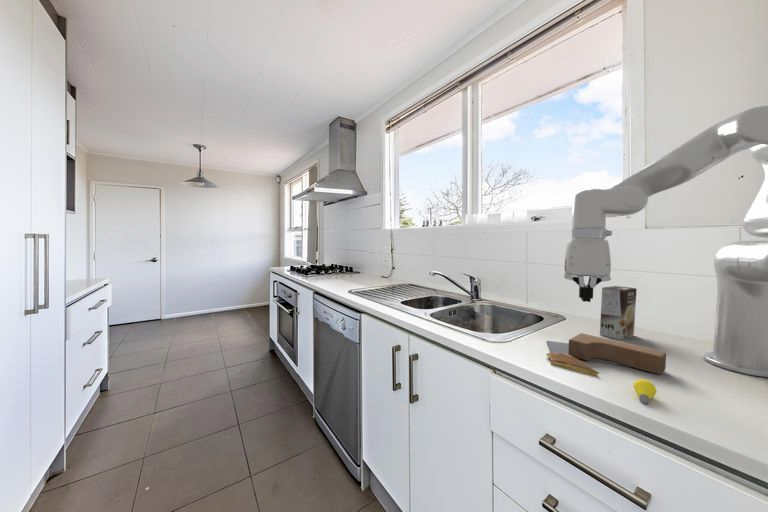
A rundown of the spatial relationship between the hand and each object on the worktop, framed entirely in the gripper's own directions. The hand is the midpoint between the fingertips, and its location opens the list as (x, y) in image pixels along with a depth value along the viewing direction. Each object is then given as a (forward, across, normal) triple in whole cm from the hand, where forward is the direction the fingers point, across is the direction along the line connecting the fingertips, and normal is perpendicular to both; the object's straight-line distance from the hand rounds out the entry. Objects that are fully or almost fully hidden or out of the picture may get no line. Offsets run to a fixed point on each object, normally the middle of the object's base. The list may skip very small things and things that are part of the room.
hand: (585, 300), depth 80 cm
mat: (+15, -3, 0) cm, 15 cm away
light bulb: (+15, -6, +23) cm, 28 cm away
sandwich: (+15, +4, +10) cm, 19 cm away
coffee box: (+15, -13, -22) cm, 30 cm away
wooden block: (+12, +3, +1) cm, 13 cm away
